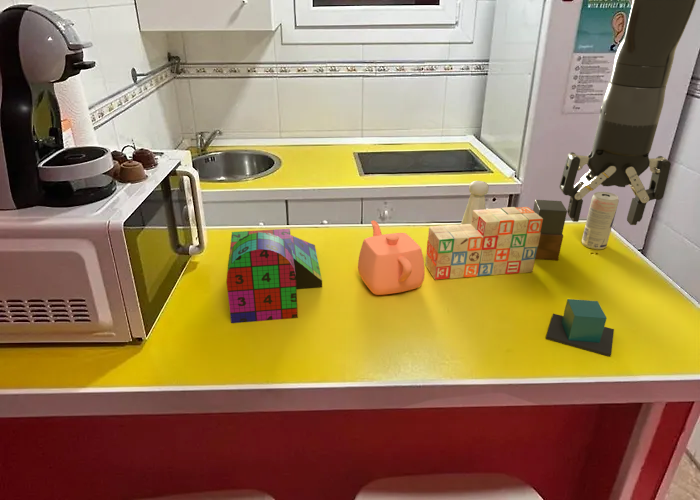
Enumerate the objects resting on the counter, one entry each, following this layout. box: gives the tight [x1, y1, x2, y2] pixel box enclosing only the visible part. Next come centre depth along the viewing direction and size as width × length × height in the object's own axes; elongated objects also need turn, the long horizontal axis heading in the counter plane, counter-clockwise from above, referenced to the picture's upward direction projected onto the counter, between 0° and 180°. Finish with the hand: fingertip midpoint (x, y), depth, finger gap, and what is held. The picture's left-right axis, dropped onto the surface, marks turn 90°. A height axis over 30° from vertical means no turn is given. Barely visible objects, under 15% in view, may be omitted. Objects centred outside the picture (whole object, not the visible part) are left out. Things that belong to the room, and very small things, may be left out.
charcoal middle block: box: [532, 199, 568, 235], centre depth 111 cm, size 6×6×6 cm
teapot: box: [357, 219, 426, 296], centre depth 101 cm, size 12×18×10 cm, turn 19°
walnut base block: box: [535, 233, 564, 261], centre depth 113 cm, size 6×6×6 cm
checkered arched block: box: [226, 228, 323, 324], centre depth 99 cm, size 25×17×14 cm
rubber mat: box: [545, 313, 615, 358], centre depth 88 cm, size 10×8×1 cm
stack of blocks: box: [425, 206, 543, 280], centre depth 105 cm, size 21×6×12 cm, turn 100°
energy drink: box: [581, 191, 619, 251], centre depth 116 cm, size 5×5×12 cm
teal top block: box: [562, 298, 608, 343], centre depth 87 cm, size 5×5×5 cm
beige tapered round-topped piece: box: [460, 180, 489, 225], centre depth 120 cm, size 6×6×13 cm
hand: (602, 221), depth 81 cm, fingers open, 8 cm apart
